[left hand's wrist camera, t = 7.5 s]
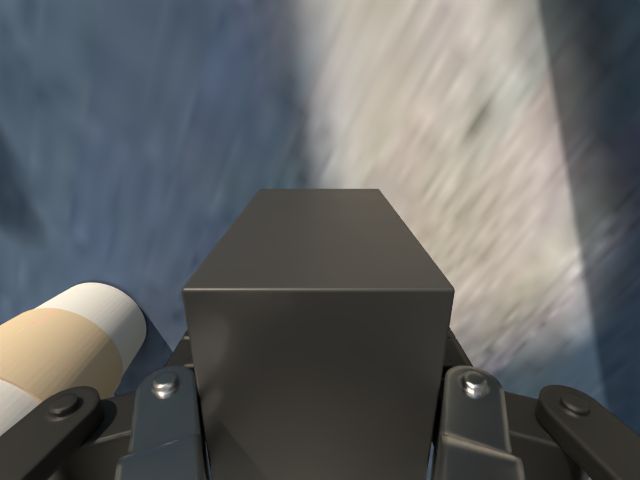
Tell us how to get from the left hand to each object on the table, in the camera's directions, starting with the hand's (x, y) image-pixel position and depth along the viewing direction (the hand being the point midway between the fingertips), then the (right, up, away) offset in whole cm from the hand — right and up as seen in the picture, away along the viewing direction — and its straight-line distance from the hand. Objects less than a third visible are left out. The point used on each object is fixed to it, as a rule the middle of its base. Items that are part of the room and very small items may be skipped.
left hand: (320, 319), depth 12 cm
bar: (0, -7, +8) cm, 11 cm away
